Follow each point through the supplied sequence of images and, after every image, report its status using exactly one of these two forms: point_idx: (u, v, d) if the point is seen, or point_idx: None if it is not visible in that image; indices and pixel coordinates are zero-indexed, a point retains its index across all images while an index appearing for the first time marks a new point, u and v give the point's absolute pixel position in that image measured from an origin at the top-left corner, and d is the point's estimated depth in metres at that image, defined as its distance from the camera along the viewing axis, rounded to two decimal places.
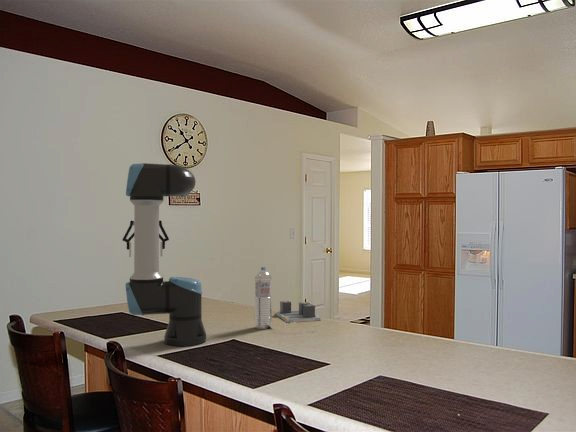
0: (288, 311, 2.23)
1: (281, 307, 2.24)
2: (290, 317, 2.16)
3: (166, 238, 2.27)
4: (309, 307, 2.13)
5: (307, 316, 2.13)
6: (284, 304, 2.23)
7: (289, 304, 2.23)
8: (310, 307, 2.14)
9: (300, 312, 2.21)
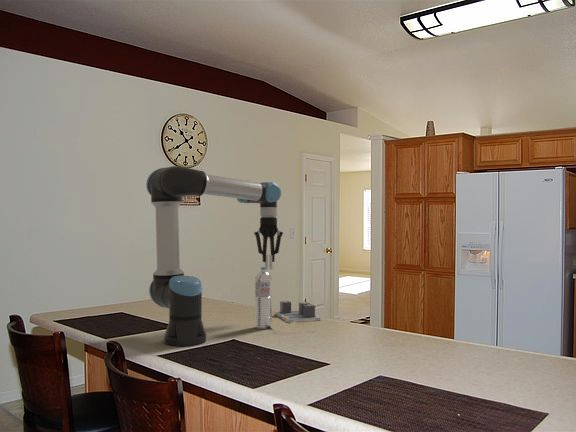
0: (288, 311, 2.23)
1: (281, 307, 2.24)
2: (290, 317, 2.16)
3: (276, 250, 2.23)
4: (309, 307, 2.13)
5: (307, 316, 2.13)
6: (284, 304, 2.23)
7: (289, 304, 2.23)
8: (310, 307, 2.14)
9: (300, 312, 2.21)
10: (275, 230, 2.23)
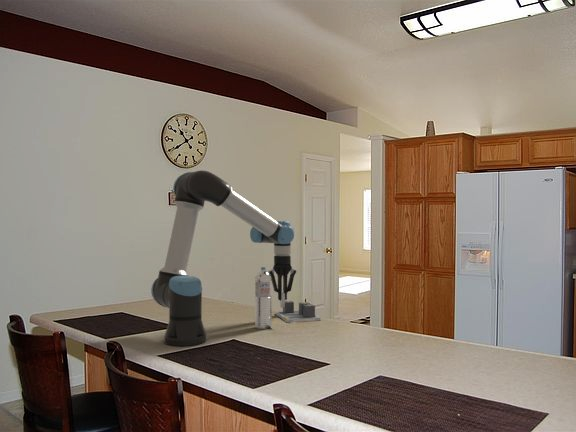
0: (291, 311, 2.24)
1: None
2: (290, 317, 2.16)
3: (289, 288, 2.24)
4: (309, 307, 2.13)
5: (307, 316, 2.13)
6: (287, 304, 2.23)
7: (292, 304, 2.24)
8: (310, 307, 2.14)
9: (300, 312, 2.21)
10: (289, 268, 2.24)
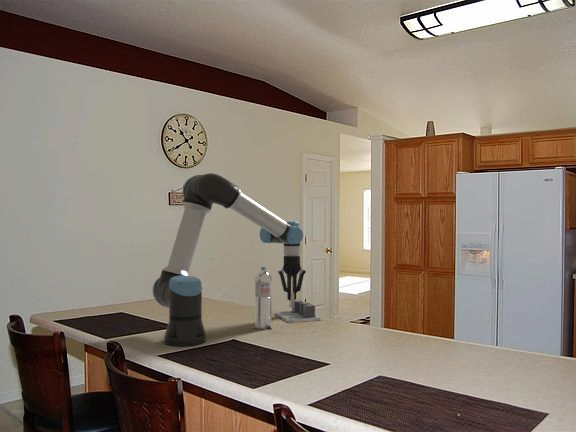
0: None
1: None
2: (290, 317, 2.16)
3: (298, 288, 2.26)
4: (309, 307, 2.13)
5: (307, 316, 2.13)
6: (296, 303, 2.24)
7: None
8: (310, 307, 2.14)
9: (300, 312, 2.21)
10: (298, 268, 2.26)
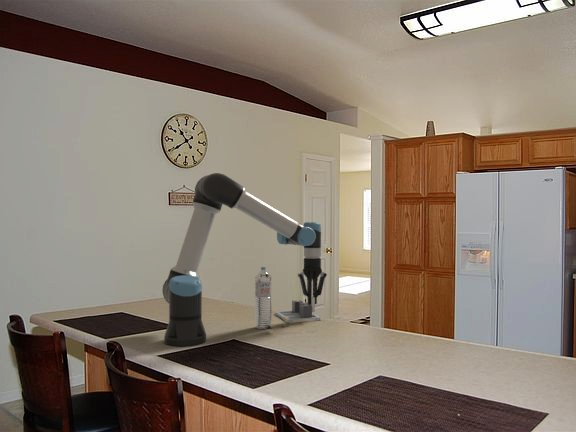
0: None
1: (293, 306, 2.26)
2: (290, 317, 2.16)
3: (319, 292, 2.16)
4: (306, 307, 2.13)
5: (304, 317, 2.13)
6: (296, 303, 2.24)
7: None
8: (307, 307, 2.13)
9: None
10: (319, 271, 2.16)
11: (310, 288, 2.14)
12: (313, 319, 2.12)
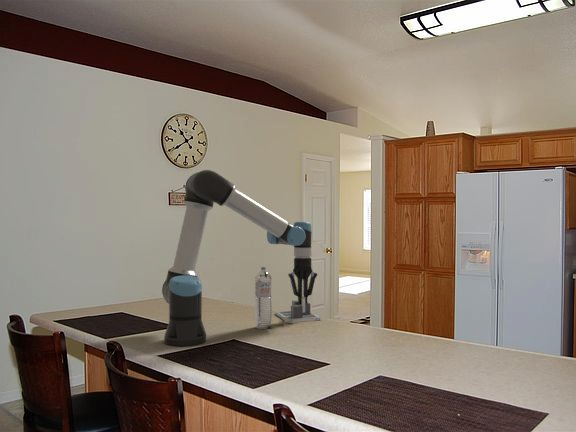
0: None
1: None
2: (290, 317, 2.16)
3: (309, 292, 2.14)
4: (296, 308, 2.12)
5: (295, 317, 2.11)
6: (296, 303, 2.24)
7: None
8: (297, 308, 2.12)
9: None
10: (309, 271, 2.15)
11: (300, 288, 2.13)
12: (313, 319, 2.12)
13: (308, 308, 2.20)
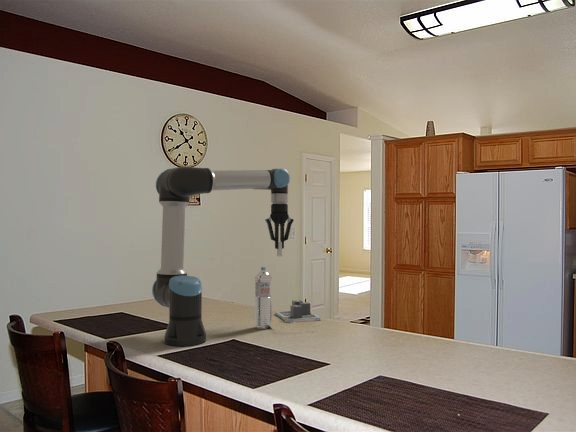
0: None
1: None
2: None
3: (286, 237, 2.22)
4: (296, 308, 2.12)
5: (294, 317, 2.11)
6: (296, 303, 2.24)
7: None
8: (297, 308, 2.12)
9: None
10: (286, 217, 2.22)
11: (277, 233, 2.21)
12: (313, 319, 2.12)
13: (308, 308, 2.20)
